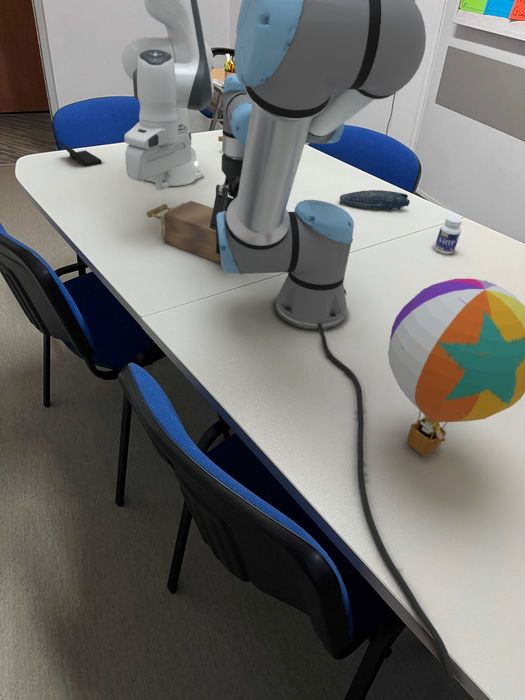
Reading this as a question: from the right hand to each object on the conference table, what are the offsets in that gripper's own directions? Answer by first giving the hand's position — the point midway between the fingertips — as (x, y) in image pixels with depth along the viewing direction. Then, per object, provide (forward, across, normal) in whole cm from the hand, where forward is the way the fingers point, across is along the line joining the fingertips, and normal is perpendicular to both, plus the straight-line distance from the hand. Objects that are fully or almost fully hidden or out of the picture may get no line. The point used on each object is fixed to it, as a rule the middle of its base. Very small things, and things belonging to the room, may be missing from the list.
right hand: (234, 245), depth 127 cm
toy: (+3, +33, +59) cm, 68 cm away
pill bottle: (+3, -39, +42) cm, 57 cm away
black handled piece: (+3, -21, -76) cm, 79 cm away
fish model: (+3, -53, +15) cm, 56 cm away
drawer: (+2, 0, -12) cm, 13 cm away
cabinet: (+3, 0, -7) cm, 8 cm away
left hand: (-8, 0, -22) cm, 24 cm away
